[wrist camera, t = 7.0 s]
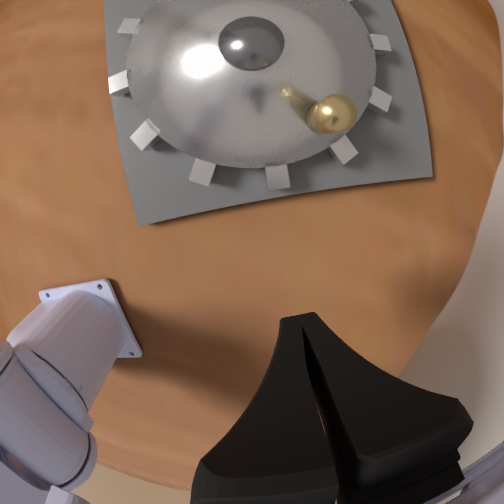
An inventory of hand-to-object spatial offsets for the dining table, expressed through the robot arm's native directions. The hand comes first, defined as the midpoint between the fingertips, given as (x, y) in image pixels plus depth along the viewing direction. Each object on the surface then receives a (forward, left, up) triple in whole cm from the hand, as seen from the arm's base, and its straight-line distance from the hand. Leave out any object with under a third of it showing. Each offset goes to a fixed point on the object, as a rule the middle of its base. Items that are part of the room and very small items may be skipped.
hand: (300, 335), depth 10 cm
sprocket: (+1, +13, -8) cm, 16 cm away
